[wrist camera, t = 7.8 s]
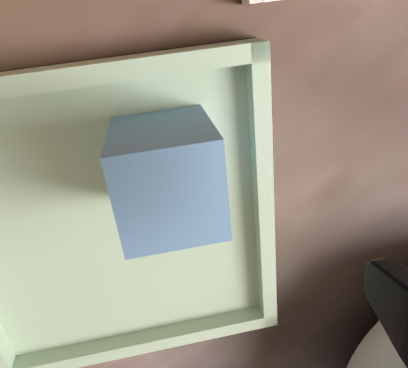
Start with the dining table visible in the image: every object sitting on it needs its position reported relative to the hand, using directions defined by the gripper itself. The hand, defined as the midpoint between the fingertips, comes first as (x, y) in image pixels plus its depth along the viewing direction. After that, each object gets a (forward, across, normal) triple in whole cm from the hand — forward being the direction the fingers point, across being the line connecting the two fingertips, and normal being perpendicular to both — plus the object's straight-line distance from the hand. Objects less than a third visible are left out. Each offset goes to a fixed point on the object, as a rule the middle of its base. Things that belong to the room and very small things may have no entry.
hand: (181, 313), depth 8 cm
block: (+10, 0, 0) cm, 10 cm away
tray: (+11, +3, +3) cm, 12 cm away
